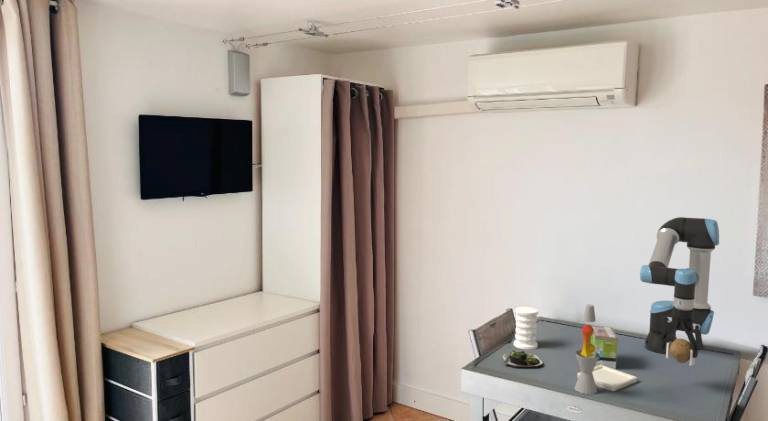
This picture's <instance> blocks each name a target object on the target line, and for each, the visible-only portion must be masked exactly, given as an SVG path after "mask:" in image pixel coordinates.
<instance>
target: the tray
mask: <svg viewBox="0 0 768 421" xmlns="http://www.w3.org/2000/svg"><path fill="white" fill-rule="evenodd" d="M580 373H581V371H580V372H577V374H576V377H577V379H578V378H579V375H580ZM592 374H593V377H594V381H595V385H596V387H597V386H598V387H601V388H603V389H606V390H608V391H610V392H616V391H618V390H620V389H623V388H625V387H628V386H630V385H633V384H634V383H637V382H638V377H637V376H635V375H632V374H630V373H626V372H624V371H620V370H618V369H616V368H615V369H612V368H609V367H606V366H603V365H599V366H596V367H594V370H593V372H592Z"/></svg>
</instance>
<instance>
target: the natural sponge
mask: <svg viewBox="0 0 768 421" xmlns="http://www.w3.org/2000/svg"><path fill="white" fill-rule="evenodd" d="M691 349H692V346H691V344H690V341H689V340H686V339H684V338H677V339H676V340H675V341H673V342H672V344H671V346H670V347H669V351H670V353H671V357H672V358H674V360H676V361H677V362H678V363H679V364H685V363H687V362H688V361H690V350H691Z"/></svg>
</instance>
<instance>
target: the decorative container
mask: <svg viewBox="0 0 768 421" xmlns="http://www.w3.org/2000/svg"><path fill="white" fill-rule="evenodd" d="M515 313H516V314H515V319H516V320H515V321H516V322H515V336H514V337H515V340H514V341H513V347H516V348H517V349H520V350H531V351H532V350H536V349H537V348H538V347H539V346H538V345H539V343H538V342H537V332H538V331H537V327H538V323H537V321H538V317H537V316H538V315H539V310H538V309H537V308H535V307H530V306H518V307H516V308H515Z"/></svg>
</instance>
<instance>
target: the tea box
mask: <svg viewBox="0 0 768 421" xmlns="http://www.w3.org/2000/svg"><path fill="white" fill-rule="evenodd" d="M590 326H591V327H592V328H593V330H594V332H593V334H592V336H591V338H590V340H589V344H593V345H594V346H595V351H594V352H596V353H598V354H599V358H598V361H597V363H596V365H595V367H596V366H599V365H603V366H606V367H609V368H612V369H615V370H616V368H617V357H618V356H617V355H618V354H617V353H618V342H619V341H618V340H619V339H618V335H617V333H616V332H615V331H614V329H613V327H607V326H593V325H590Z"/></svg>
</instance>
